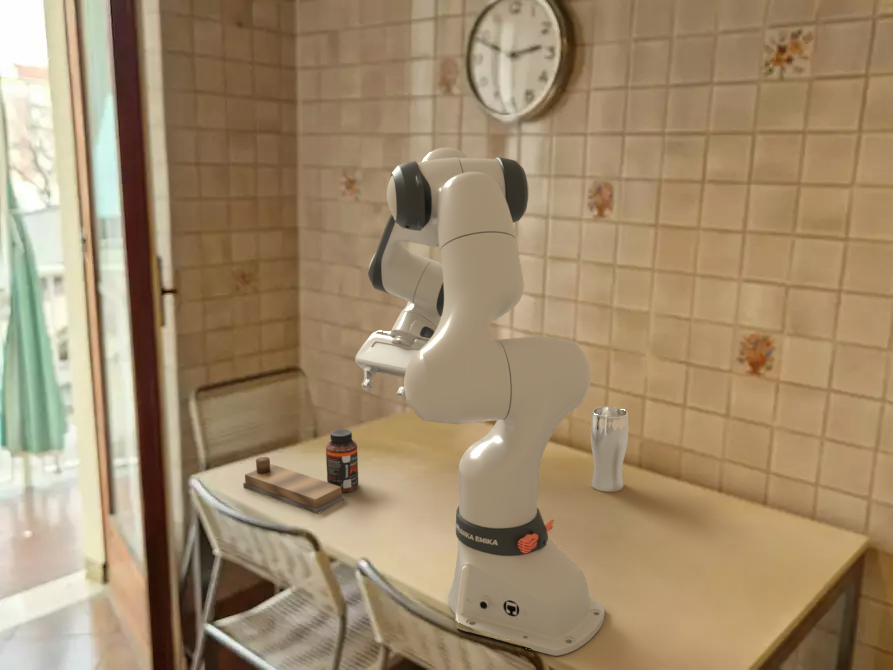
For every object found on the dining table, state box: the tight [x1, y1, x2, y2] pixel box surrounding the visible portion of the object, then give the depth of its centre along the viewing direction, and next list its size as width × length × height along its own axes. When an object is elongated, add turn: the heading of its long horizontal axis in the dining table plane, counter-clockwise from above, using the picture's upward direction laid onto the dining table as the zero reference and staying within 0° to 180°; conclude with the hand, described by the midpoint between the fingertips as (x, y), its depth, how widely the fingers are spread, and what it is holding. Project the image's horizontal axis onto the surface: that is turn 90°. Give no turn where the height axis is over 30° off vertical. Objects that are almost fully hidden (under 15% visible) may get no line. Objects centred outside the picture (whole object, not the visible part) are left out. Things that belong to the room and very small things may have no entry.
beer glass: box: [590, 405, 629, 493], centre depth 158 cm, size 7×7×15 cm
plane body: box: [242, 456, 345, 514], centre depth 157 cm, size 20×7×5 cm, turn 53°
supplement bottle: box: [325, 428, 359, 494], centre depth 159 cm, size 6×6×11 cm
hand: (382, 392), depth 166 cm, fingers open, 8 cm apart
